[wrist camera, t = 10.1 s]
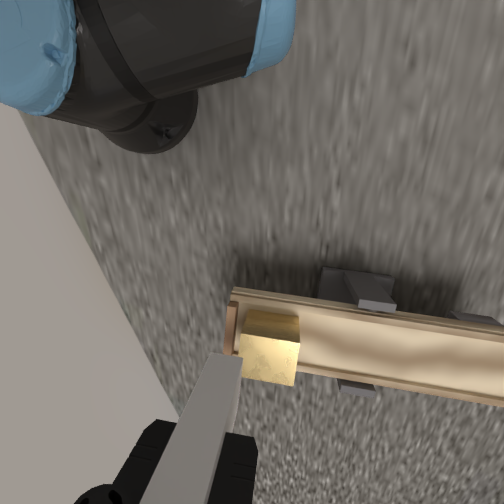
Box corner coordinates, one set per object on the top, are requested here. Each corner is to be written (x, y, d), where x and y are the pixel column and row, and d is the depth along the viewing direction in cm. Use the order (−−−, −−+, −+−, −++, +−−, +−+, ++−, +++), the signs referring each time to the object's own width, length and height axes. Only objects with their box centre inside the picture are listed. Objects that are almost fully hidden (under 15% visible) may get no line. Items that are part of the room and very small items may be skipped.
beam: (240, 274, 41) (228, 294, 34) (496, 311, 38) (545, 343, 30) (233, 336, 44) (221, 368, 36) (474, 377, 40) (515, 421, 33)
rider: (249, 308, 36) (240, 333, 30) (299, 316, 36) (300, 343, 30) (245, 345, 37) (236, 375, 32) (293, 353, 37) (293, 386, 31)
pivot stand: (322, 266, 45) (332, 295, 34) (391, 276, 44) (425, 308, 33) (309, 339, 48) (315, 387, 37) (374, 349, 47) (399, 402, 36)
